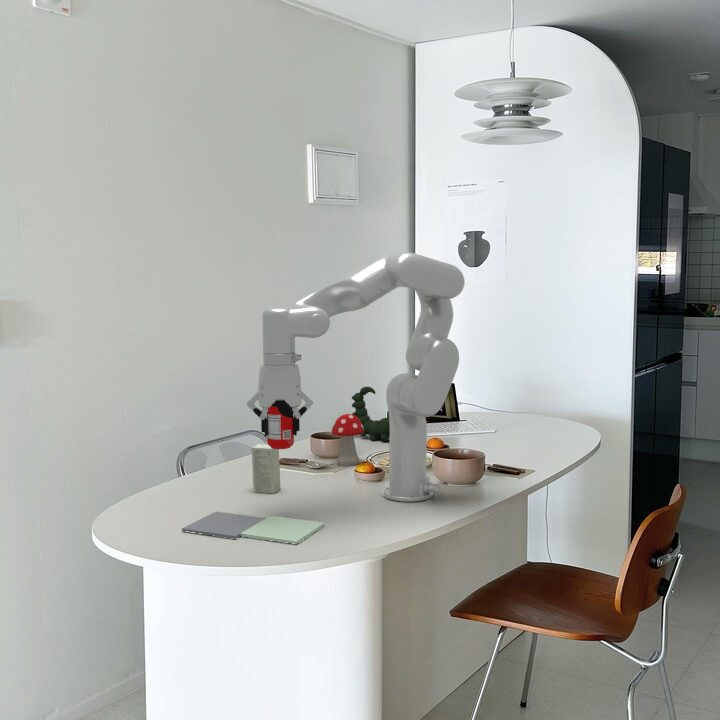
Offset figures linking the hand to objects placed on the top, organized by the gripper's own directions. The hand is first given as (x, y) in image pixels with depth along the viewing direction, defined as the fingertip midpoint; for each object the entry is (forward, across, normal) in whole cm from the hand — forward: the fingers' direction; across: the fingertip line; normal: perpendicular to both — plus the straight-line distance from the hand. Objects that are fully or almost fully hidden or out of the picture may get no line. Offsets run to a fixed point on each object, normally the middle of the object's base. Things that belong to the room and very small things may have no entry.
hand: (280, 434), depth 208 cm
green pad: (+20, 0, +13) cm, 24 cm away
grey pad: (+20, +13, +8) cm, 25 cm away
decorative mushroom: (+20, -21, -47) cm, 55 cm away
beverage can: (+3, 0, 0) cm, 3 cm away
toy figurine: (+20, -37, -77) cm, 88 cm away
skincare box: (+20, +4, -21) cm, 29 cm away
